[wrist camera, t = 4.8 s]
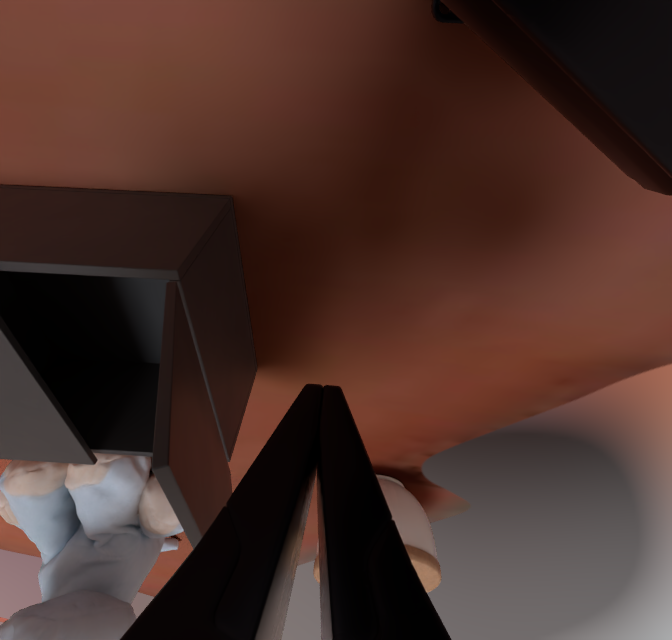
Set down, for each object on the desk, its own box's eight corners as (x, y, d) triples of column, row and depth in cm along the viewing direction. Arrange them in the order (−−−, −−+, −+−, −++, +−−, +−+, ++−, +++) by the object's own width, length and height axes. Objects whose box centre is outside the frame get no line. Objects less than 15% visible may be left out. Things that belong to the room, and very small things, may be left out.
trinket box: (307, 502, 40) (295, 610, 33) (342, 450, 34) (337, 570, 26) (399, 522, 42) (407, 628, 35) (449, 476, 35) (472, 595, 28)
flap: (165, 282, 13) (176, 280, 13) (223, 473, 21) (230, 471, 21) (150, 469, 8) (168, 465, 8) (236, 631, 16) (244, 627, 16)
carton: (232, 195, 20) (169, 281, 13) (257, 368, 28) (226, 474, 21) (-48, 182, 20) (-242, 259, 13) (58, 357, 28) (-32, 457, 22)
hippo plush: (229, 458, 36) (139, 756, 21) (180, 542, 49) (104, 760, 34) (17, 395, 31) (-277, 716, 17) (27, 505, 44) (-133, 737, 30)
